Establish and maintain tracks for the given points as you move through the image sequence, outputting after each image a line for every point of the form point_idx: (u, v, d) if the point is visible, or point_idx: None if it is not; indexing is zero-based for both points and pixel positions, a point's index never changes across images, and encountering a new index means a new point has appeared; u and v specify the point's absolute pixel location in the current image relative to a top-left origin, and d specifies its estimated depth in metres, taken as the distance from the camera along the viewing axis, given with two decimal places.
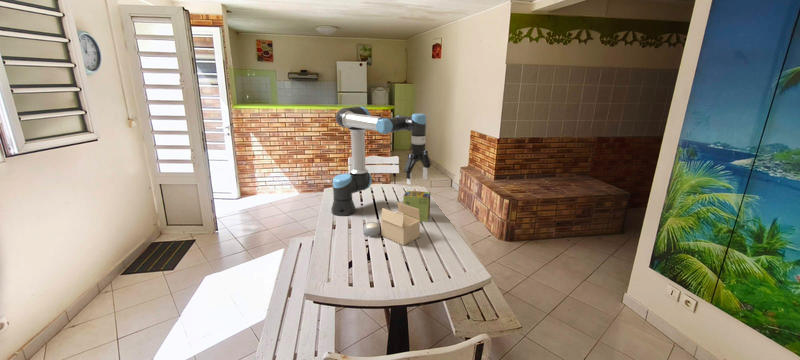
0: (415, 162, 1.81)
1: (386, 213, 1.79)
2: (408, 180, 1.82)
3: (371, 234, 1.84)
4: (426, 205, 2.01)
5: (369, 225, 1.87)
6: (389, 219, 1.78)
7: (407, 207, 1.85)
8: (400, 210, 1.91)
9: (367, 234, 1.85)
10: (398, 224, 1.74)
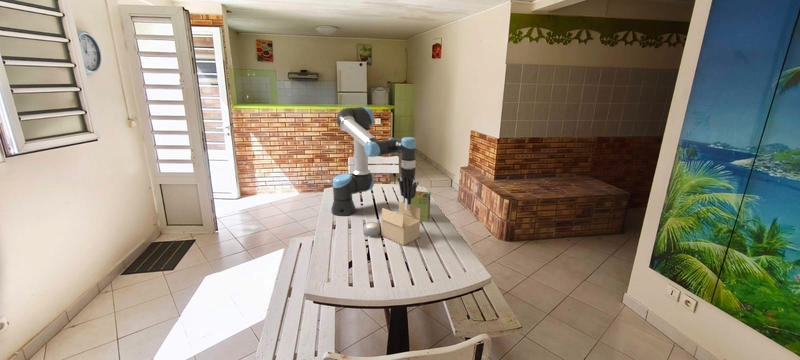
0: (405, 186, 1.81)
1: (386, 213, 1.79)
2: None
3: (371, 234, 1.84)
4: (426, 205, 2.01)
5: (369, 225, 1.87)
6: (389, 219, 1.78)
7: None
8: (400, 210, 1.91)
9: (367, 234, 1.85)
10: (398, 224, 1.74)
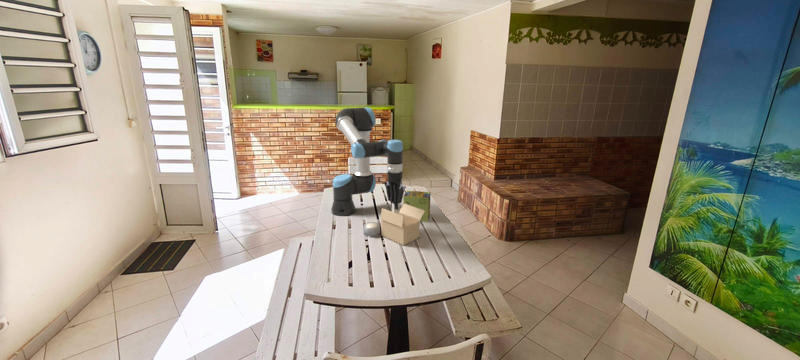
0: (391, 190, 1.74)
1: (386, 213, 1.79)
2: None
3: (371, 234, 1.84)
4: (426, 205, 2.01)
5: (369, 225, 1.87)
6: (389, 219, 1.78)
7: (413, 208, 1.89)
8: (402, 211, 1.92)
9: (367, 234, 1.85)
10: (398, 224, 1.74)
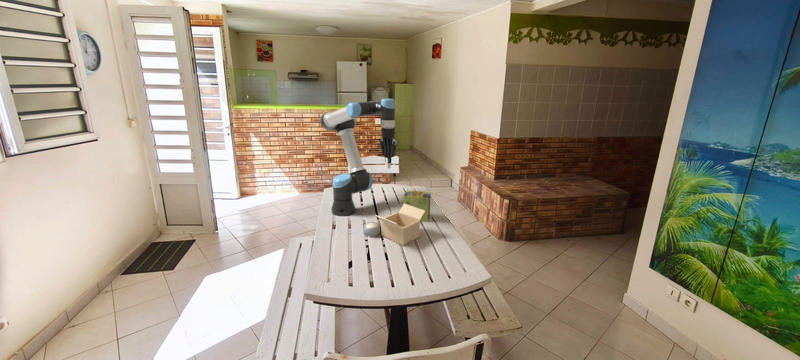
0: (385, 145, 1.92)
1: (381, 218, 1.77)
2: None
3: (371, 234, 1.84)
4: (426, 205, 2.01)
5: (369, 225, 1.87)
6: (387, 222, 1.78)
7: (413, 208, 1.89)
8: (402, 211, 1.92)
9: (367, 234, 1.85)
10: (397, 226, 1.74)
